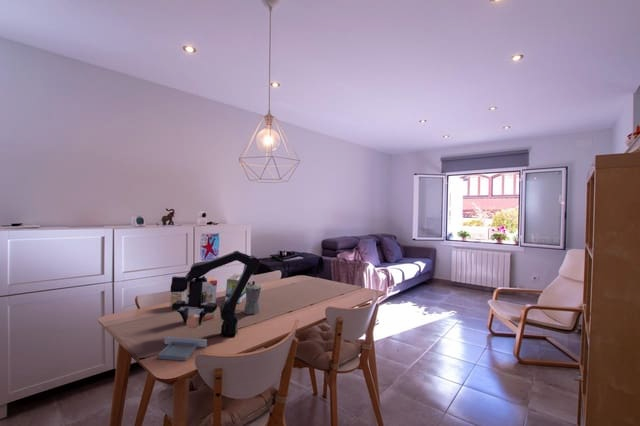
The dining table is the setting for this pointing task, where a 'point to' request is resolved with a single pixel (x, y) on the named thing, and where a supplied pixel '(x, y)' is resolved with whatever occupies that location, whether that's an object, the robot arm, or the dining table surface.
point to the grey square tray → (177, 351)
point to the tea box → (231, 285)
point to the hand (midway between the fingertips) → (193, 324)
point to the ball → (193, 321)
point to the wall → (186, 341)
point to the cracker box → (210, 291)
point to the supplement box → (177, 296)
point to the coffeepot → (252, 298)
